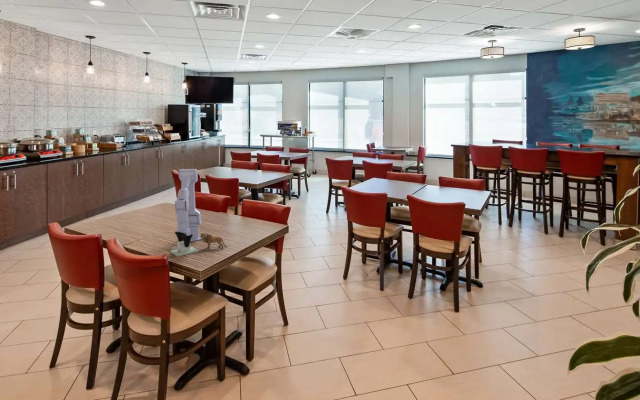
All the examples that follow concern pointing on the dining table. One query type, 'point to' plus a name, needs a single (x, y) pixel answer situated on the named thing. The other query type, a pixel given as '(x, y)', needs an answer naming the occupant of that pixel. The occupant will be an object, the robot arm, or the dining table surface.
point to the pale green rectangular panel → (192, 250)
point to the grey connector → (181, 247)
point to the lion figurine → (211, 240)
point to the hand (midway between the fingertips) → (184, 245)
